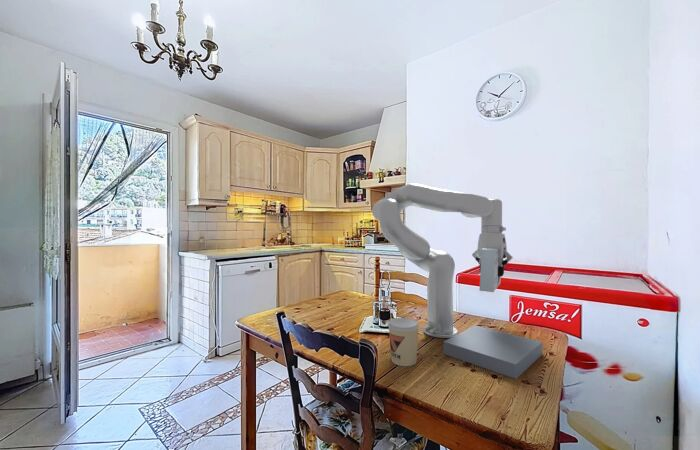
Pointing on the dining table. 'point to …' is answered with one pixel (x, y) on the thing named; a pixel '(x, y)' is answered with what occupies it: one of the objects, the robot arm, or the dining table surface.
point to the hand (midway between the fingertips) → (491, 274)
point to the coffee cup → (403, 341)
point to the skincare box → (489, 270)
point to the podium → (494, 350)
